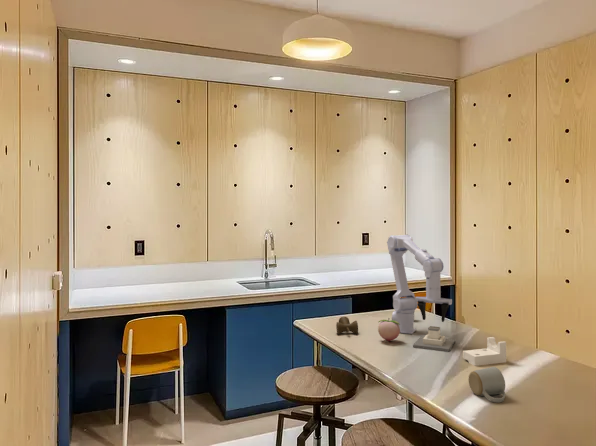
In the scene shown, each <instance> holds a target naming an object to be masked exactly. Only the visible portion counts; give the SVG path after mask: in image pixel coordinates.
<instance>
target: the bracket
mask: <svg viewBox="0 0 596 446" xmlns="http://www.w3.org/2000/svg"><path fill="white" fill-rule="evenodd" d="M462 359H464V360H466V361H468V363H469V364H470V365H472V366H474V367H478V366H486V365H494V364H501V363H507V341H498V342H496V337H494V336H492V337H491V336H490V337H486V348H478V349H477V348H476V349H469V350H462Z"/></svg>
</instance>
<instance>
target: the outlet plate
mask: <svg viewBox="0 0 596 446" xmlns="http://www.w3.org/2000/svg"><path fill="white" fill-rule="evenodd" d="M455 343H456V340H455V339H449V338H446V336H445V335H440V340H436V339H428V333H427V334H426V335H425V336H424V335H423V336H421V335H420V337H418V338H417V340H416V341H415V342H414V343H413V344H412V348H415V349H422V350H423V349H424V350H431V351H432V350H433V351H441V352H448V353H449V352H450V351H451V349H452V348H453V346H454V344H455Z"/></svg>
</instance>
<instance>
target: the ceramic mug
mask: <svg viewBox="0 0 596 446" xmlns="http://www.w3.org/2000/svg"><path fill="white" fill-rule="evenodd" d="M468 385H469V388H470V390H471V392H472V393H474V395H476V396H484V397H485V398H486V399H487V400H488V401H490V402H492V403H493V402H494V403H502V402H504V401H505V397H506V392H505V390H506V380H505V378H504V375H503V372H502V371H501V370H500V369H499V368H498V367H496V366H491V367H486V368H481V369H480V368H479V369H476V370H473V371H471V372H470V373H469V375H468ZM492 395H502V397H499V398H498V397H492Z"/></svg>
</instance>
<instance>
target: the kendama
mask: <svg viewBox="0 0 596 446" xmlns="http://www.w3.org/2000/svg"><path fill="white" fill-rule="evenodd" d="M335 327H336V334H337V335H341V334H343V333H347V332H351V333H353V334H356V335H358V334H359V324H358V321H357V320H354V321H353V322H351V323H350V318H348V316H340V317H339V319H338V321H337V322H336V325H335Z"/></svg>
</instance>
